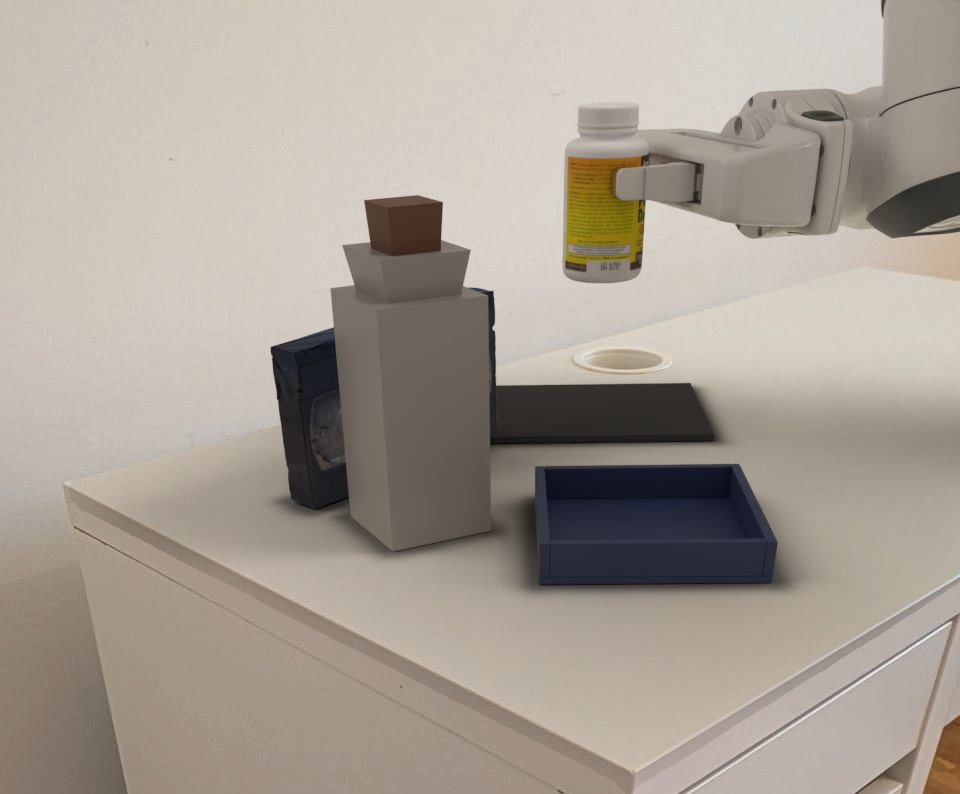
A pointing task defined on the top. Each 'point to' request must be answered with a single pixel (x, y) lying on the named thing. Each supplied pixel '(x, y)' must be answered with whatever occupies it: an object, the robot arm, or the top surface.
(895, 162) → the robot arm
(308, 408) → the vhs cassette tape
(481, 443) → the perfume bottle
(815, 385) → the top surface
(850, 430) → the top surface
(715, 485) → the box
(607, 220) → the supplement bottle
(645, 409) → the mat
